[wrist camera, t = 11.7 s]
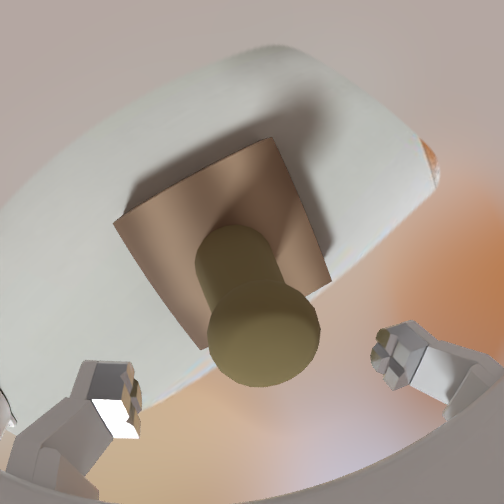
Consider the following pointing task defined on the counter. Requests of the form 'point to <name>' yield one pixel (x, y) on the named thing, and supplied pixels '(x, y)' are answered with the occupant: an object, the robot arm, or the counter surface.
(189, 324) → the walnut base
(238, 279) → the olive pawn
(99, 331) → the counter surface
